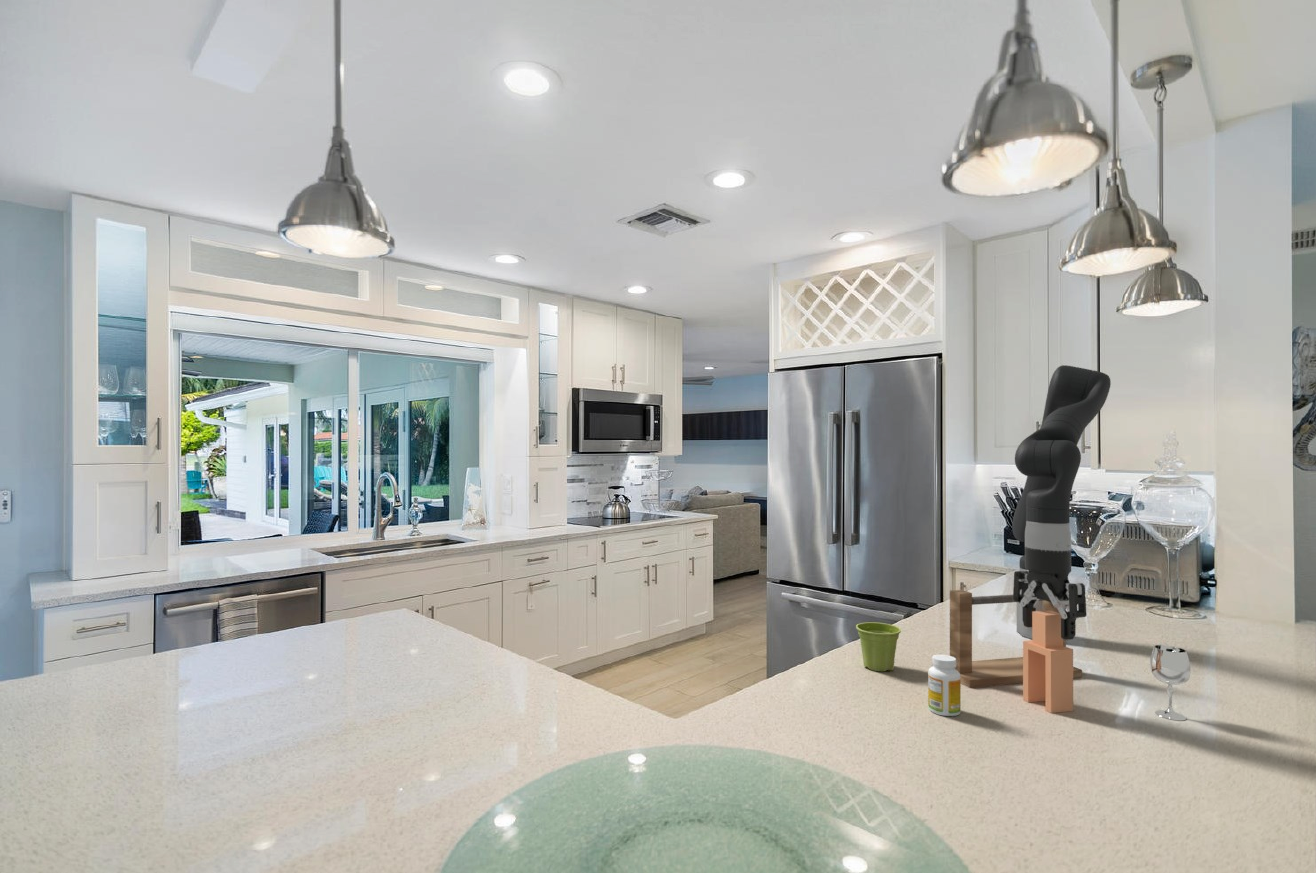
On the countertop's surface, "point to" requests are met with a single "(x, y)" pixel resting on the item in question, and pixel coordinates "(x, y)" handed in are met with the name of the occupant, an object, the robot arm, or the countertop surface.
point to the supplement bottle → (944, 686)
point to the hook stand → (962, 644)
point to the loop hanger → (1048, 664)
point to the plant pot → (878, 645)
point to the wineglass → (1170, 673)
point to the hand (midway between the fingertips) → (1047, 632)
